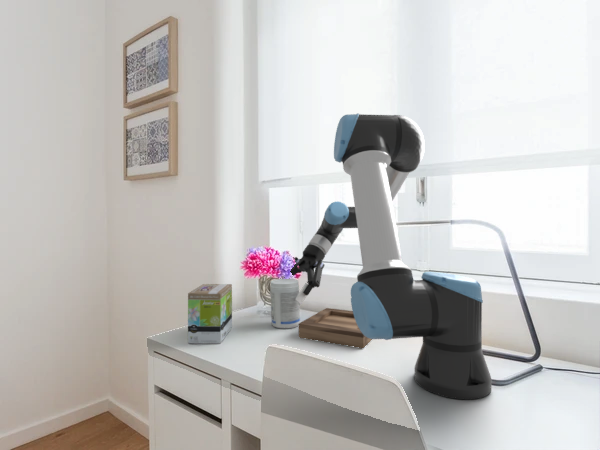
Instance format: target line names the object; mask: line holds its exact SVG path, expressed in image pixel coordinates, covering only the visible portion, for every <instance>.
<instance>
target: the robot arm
mask: <svg viewBox="0 0 600 450" xmlns="http://www.w3.org/2000/svg"><path fill="white" fill-rule="evenodd" d="M338 121H339V122H338V124H337V128H336V131H335V135H334V143H333V158H334V161H335V162H337V163H342V169H343V171H344V172H345V173H346V174H348V175H349V176H350V182H351V189H352V195H353V202H354V206H348V205H347V204H345V203H344V202H341V201H334V202H333V201H332V202H331V203H330V204H328V207H327V208H326V210H325V212H324V216H323V219H322V221H321V225H319V227H318V229H317V231H316V232H315V234H314V235H313V236H312V238H311V239H310V240H309V242H308V244H307V245H306V246H305V248H304V250H303V251H302V257H301V258H298V257H297V256H295V257H294V258H293V259H295V262H296V264H295V265H294V267H293V268H292V269H291V271H290V272H291V273H292V275H293V276H292V277H294V276H295V275H297V274H300V273H306V275H307V281H306V282H305V283H304V284H303V285H302V288H300V290H299V294H298V295H297V297H296V298H295V300H296V301H297V302H298V303H299V304H300V305H301V306H302V304H303V302H305V301H304V300H305V299H306V298H307V296H309V294H310V293H311V291H312V289H314V288H319V287H320V286H321V280H322V274H323V270H324V267H325V264H324V263H323V261H324V260H325V257H326V256H327V254H328V253H329V251H330V249H331V248H332V246H333V244H334V243H335V242H336V240H337V238H338V237H339V235H340V234H341V233H342V232H343V229H357V233H358V240H359V242H358V243H359V246H360V247H359V248H360V257H361V263H362V269H361V271H360V272H359V273H358V274H357V276H356V278H357V281H355V282H354V283H353V284H352V286H351V287H350V297H351V298H350V305H351V309H352V310H351V311H353V314H354V318H355V321H356V323H357V325H358V327H359V329H360V331H361V332H362V333H363V335H365V336H366V337H367V338H370V339H373V340H385V341H388V340H392V339H393V340H394V339H407V338H408V339H410V338H422V345H421V348H420V350H419V353H418V356H417V359H416V362H415V365H414V380H415V382H416V383H417V385H419V386H420V387H421V388H422V389H424V390H425V391H428V392H430V393H432V394H434V395H439V396H442V397H446V398H449V399H456V400H476V399H480V398H481V399H482V398H484V397H487V396H488V395H489V394H490V393H491V391H492V376H491V373H490V370H489V367H488V364H487V361H486V359H485V356H484V353H483V345H482V339H483V336H482V335H483V332H482V331H483V328H482V327H483V322H482V319H483V317H482V314H483V311H482V310H483V309H482V308H483V307H482V306H483V296H482V293H483V292H482V287H481V284H480V283H479V282H478V280H476V279H473V278H471V277H467V276H463V275H458V274H453V273H445V272H436V271H425V272H422V275H421V279H418V280H417V279H416V280H415V279H414V276H413V270H412V268H410V267H409V266H407V265H406V264H404V261H403V257H402V256H403V255H402V251H401V245H400V240H399V234H398V228H397V223H396V218H395V217H396V216H395V211H394V205H393V201H394V199H395V197H396V195H398V193H399V191H400V189H401V188H402V186H403V185H404V182H405V181H406V180H407V177H408V176H409V175H410V173H412V172H414V171H416V169H417V168H418V167H419V165H420V163H421V162H422V160H423V157H424V154H425V149H426V148H425V145H426V144H425V143H426V142H425V139H424V134H423V132H422V130H421V128H420V127H419V125H418V124H417V123H416V122H415V121H414V120H413V119H411V118H409V117H407V116H405V115H401V114H393V115H391V114H361V113H356V114H354V113H353V114H344V115H342V117H340V118H339V120H338ZM280 279H281V278H280ZM269 294H270V295H271V291H270V292H269Z"/></svg>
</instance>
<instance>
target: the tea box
mask: <svg viewBox="0 0 600 450" xmlns="http://www.w3.org/2000/svg"><path fill="white" fill-rule="evenodd" d="M232 286H233V285H232V284H231V283H224V284H223V283H210V284H209V283H206V284H205V283H203V284H201V285H200V286H198V287H196V288H195V289H193V290H191V291H189V292H188V293H187V343H188V344H195V345H197V344H202V345H203V344H204V345H205V344H207V345H208V344H209V345H210V344H221V343H222V341H224V338H226V336H227V334H229V332H230V331H231V329H232V328H233V287H232Z"/></svg>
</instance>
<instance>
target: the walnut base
mask: <svg viewBox="0 0 600 450" xmlns="http://www.w3.org/2000/svg"><path fill="white" fill-rule="evenodd" d="M299 337H300V339H304V338H306V339H305V340H310V339H312V340H311V341H315V340H318V341H317V342H321V341H324V342H323V343H327V342H330V343H329V344H333V343H335V344H334V345H338V344H341V345H340V346H344V345H348V346H347V347H350V346H354V347H353V348H356V347H359V348H358V349H362V348H364V347H365V346H366V345H367V344H368V343H369V342H370V341H371V340H372V339H370V338H367V337H366V336H365V335H363V333H362V332H361V331H360V329H359V327H358V325H357V323H356V321H355V318H354V314H353V310H345V309H339V308H338V309H337V308H331V307H330V308H329V307H325V308H324V309H322V310H321V311H318V312H317V313H315V314H313V315H312V316H309V317H308V318H306V319H305V320H302V321H300V323H299V325H298V338H299ZM372 341H373V340H372ZM372 341H371V342H372ZM371 342H370V343H371ZM370 343H369V344H370ZM369 344H368V345H369ZM368 345H367V346H368ZM367 346H366V347H367ZM366 347H365V348H366ZM365 348H364V349H365Z"/></svg>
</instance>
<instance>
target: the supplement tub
mask: <svg viewBox="0 0 600 450" xmlns="http://www.w3.org/2000/svg"><path fill="white" fill-rule="evenodd" d="M269 291H270V292H271V294H270V313H271V315H270V316H271V326H273V327H274V328H277V329H293V328H295V327H299V323H301V307H300V304H299V303H298V302H297V301H296V300H295V298H296V297H297V295H298V294H299V292H300V285H299V280H298V279H294V278H289V279H279V278H278V279H273V280H271V281H270V290H269Z"/></svg>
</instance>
